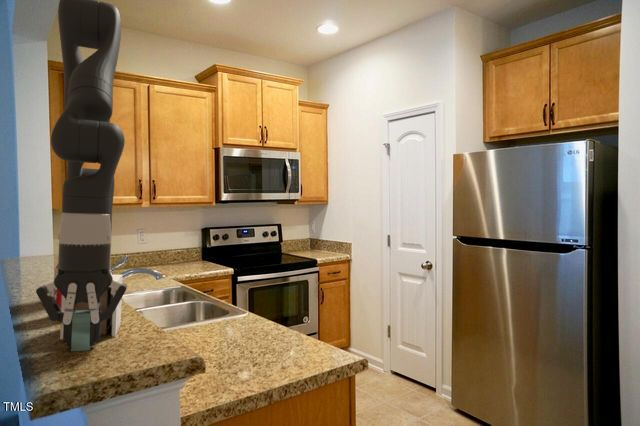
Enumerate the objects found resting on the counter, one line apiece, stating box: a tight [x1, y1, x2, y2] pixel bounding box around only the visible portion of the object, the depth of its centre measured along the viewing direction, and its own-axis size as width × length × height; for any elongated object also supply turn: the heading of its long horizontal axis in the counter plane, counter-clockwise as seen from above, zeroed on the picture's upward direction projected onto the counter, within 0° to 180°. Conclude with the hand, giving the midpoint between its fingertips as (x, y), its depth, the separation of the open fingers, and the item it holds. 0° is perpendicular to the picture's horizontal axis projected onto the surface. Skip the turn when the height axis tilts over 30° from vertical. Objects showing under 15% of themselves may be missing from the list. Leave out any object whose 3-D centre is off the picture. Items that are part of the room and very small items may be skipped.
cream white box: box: [59, 274, 123, 340], centre depth 81 cm, size 9×9×10 cm
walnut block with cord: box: [70, 287, 111, 352], centre depth 77 cm, size 15×5×8 cm, turn 19°
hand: (81, 344), depth 71 cm, fingers closed on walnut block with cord, 2 cm apart
